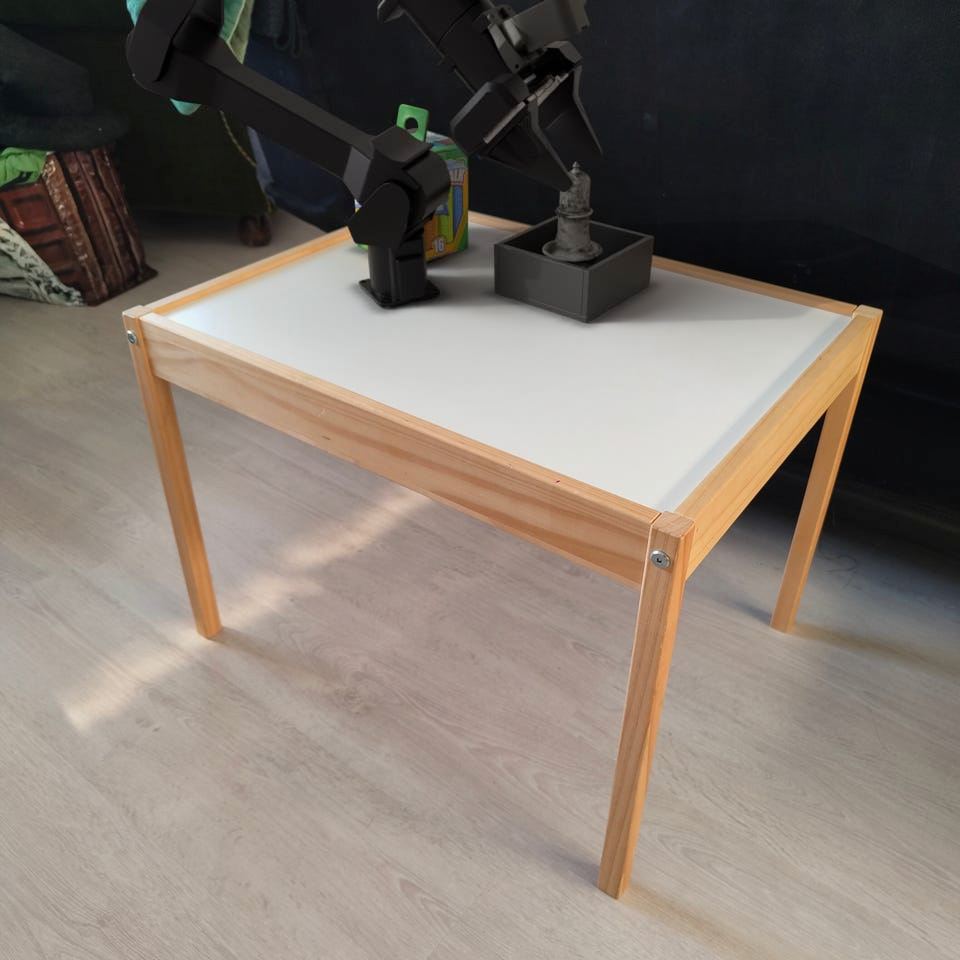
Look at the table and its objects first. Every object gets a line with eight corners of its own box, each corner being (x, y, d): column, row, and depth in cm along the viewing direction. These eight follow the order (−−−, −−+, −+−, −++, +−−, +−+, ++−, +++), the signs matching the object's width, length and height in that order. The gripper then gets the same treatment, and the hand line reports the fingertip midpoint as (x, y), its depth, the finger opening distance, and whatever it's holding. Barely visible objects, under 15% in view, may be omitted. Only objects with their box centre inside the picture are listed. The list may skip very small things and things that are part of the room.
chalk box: (356, 248, 100) (342, 109, 92) (419, 228, 105) (412, 94, 97) (408, 271, 95) (398, 125, 86) (472, 248, 100) (469, 108, 91)
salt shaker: (612, 282, 90) (621, 160, 83) (573, 300, 86) (579, 174, 79) (567, 267, 93) (572, 148, 86) (529, 283, 90) (531, 162, 83)
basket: (494, 293, 90) (493, 243, 87) (560, 259, 97) (561, 212, 94) (586, 323, 84) (589, 271, 81) (649, 285, 91) (654, 236, 88)
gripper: (485, -42, 62) (630, 137, 65) (563, -65, 76) (678, 82, 79) (391, 74, 69) (525, 230, 72) (478, 33, 83) (587, 165, 86)
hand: (584, 172), depth 77 cm, fingers open, 9 cm apart
